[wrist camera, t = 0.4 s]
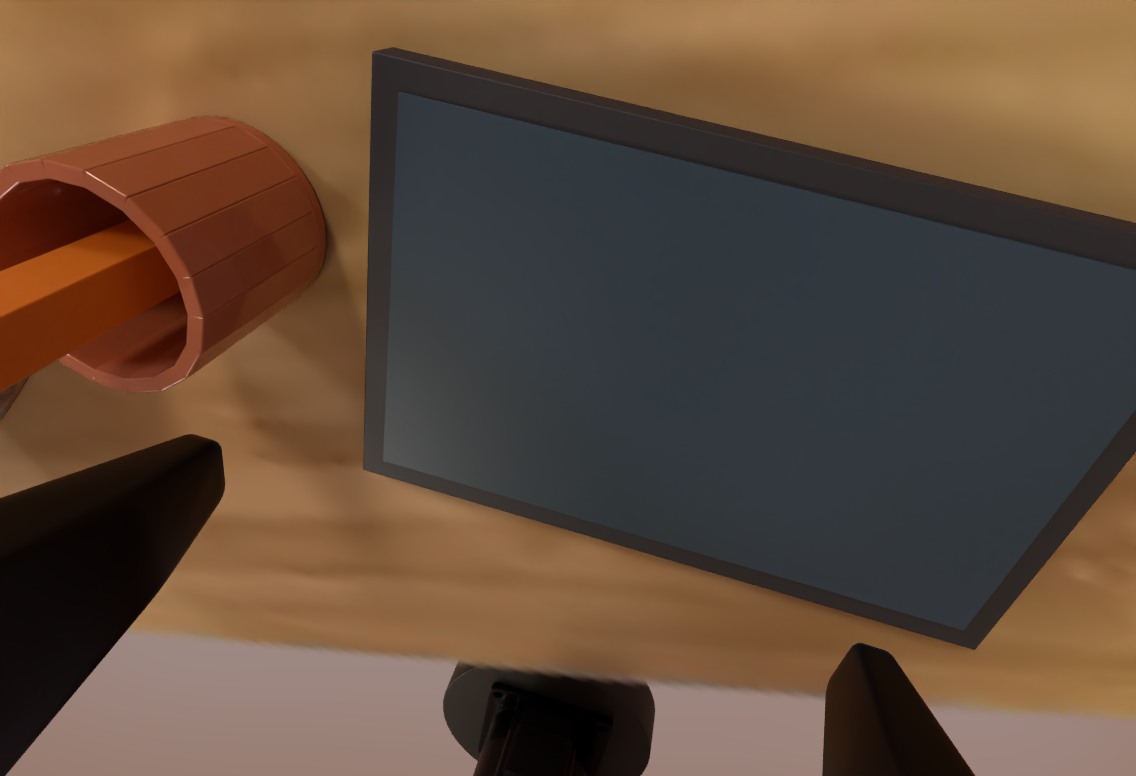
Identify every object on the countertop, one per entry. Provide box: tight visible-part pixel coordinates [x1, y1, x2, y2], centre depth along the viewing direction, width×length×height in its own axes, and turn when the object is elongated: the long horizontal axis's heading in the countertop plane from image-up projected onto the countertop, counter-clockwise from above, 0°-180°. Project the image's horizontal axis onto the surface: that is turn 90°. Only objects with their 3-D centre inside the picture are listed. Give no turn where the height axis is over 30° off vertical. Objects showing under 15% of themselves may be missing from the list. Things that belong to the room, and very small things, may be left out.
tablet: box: [363, 48, 1136, 650], centre depth 21 cm, size 14×22×1 cm, turn 80°
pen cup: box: [0, 116, 326, 393], centre depth 19 cm, size 6×6×6 cm
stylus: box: [0, 220, 180, 392], centre depth 17 cm, size 2×2×11 cm
